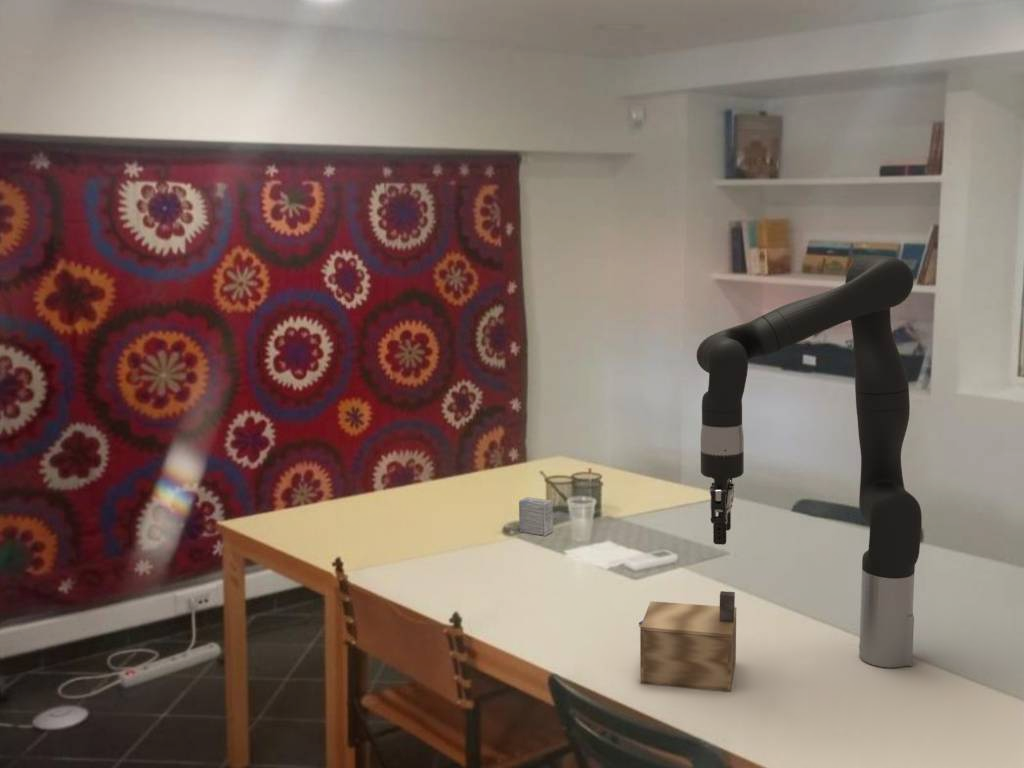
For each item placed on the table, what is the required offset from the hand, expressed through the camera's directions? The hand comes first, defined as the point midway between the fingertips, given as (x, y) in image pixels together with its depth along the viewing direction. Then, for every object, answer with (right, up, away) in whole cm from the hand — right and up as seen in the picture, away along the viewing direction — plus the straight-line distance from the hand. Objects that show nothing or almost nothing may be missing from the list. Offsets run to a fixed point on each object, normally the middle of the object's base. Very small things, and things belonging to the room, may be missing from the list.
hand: (722, 536), depth 199 cm
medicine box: (-31, -12, +91) cm, 97 cm away
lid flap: (-5, -16, +3) cm, 17 cm away
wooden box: (-5, -26, +5) cm, 27 cm away
